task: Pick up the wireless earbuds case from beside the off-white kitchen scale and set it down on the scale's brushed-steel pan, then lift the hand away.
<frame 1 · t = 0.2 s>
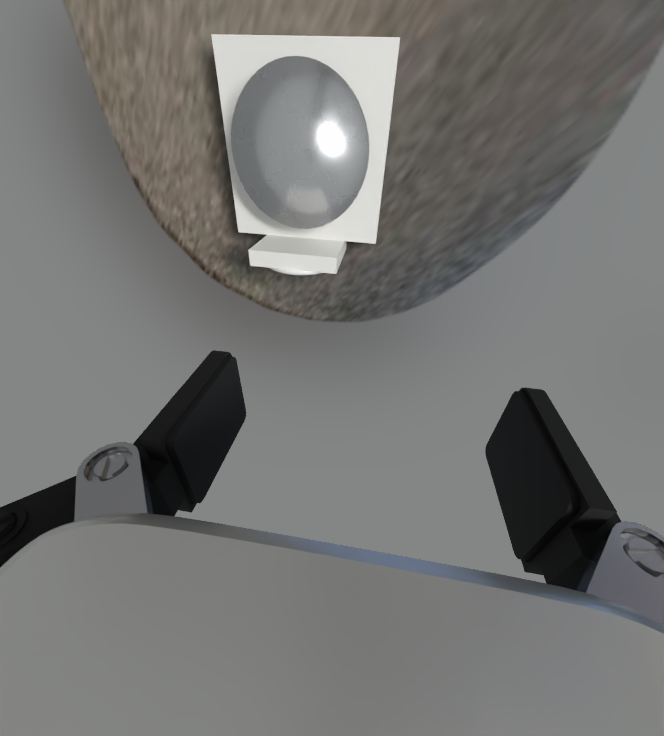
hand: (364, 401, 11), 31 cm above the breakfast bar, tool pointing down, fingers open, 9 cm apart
kitchen scale: (309, 151, 33), on the breakfast bar
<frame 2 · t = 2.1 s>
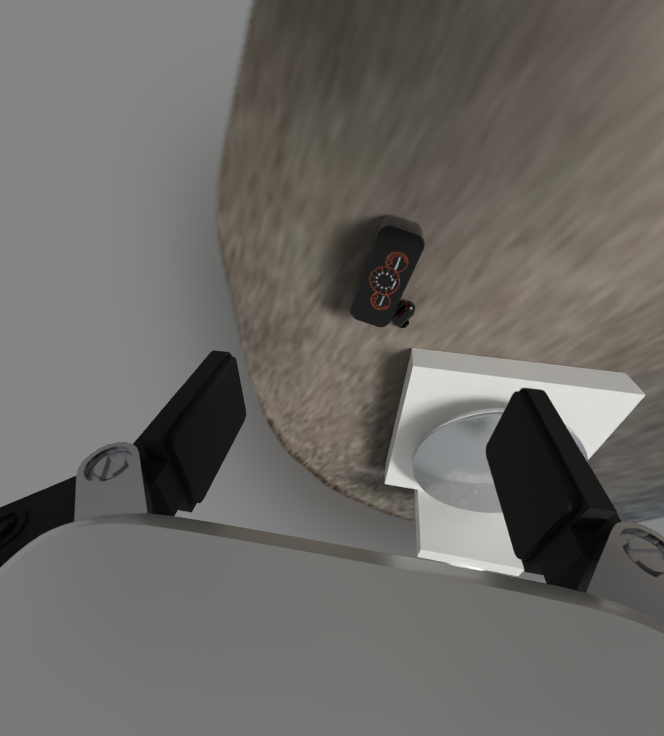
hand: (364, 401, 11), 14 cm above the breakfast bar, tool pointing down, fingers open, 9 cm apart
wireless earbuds: (391, 275, 23), on the breakfast bar
kitchen scale: (481, 427, 29), on the breakfast bar
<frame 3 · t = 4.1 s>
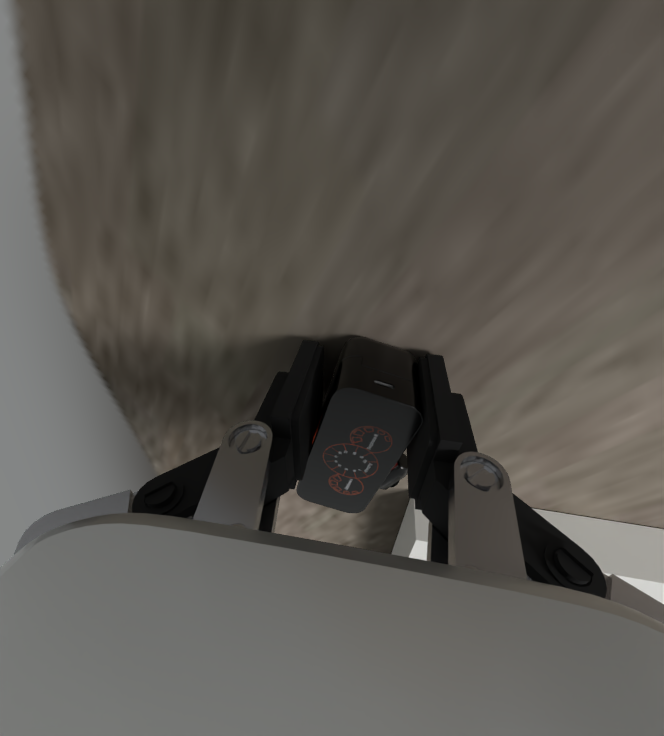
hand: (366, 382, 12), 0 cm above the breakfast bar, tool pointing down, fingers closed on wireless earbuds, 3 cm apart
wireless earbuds: (369, 411, 14), on the breakfast bar, touching gripper
kitchen scale: (516, 579, 20), on the breakfast bar
when the fingers open (6 cm above the breakfast bar, at t = 9.2 s): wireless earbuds stays where it is, resting on kitchen scale.
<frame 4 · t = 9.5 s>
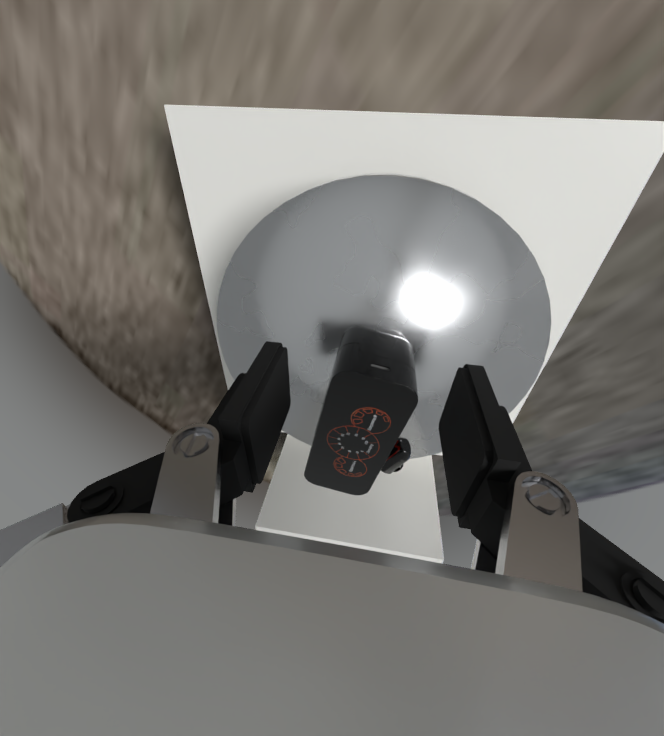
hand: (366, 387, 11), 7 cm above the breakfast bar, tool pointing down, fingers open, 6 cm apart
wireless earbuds: (371, 399, 14), point 5 cm above the breakfast bar, touching kitchen scale
kitchen scale: (374, 308, 17), on the breakfast bar
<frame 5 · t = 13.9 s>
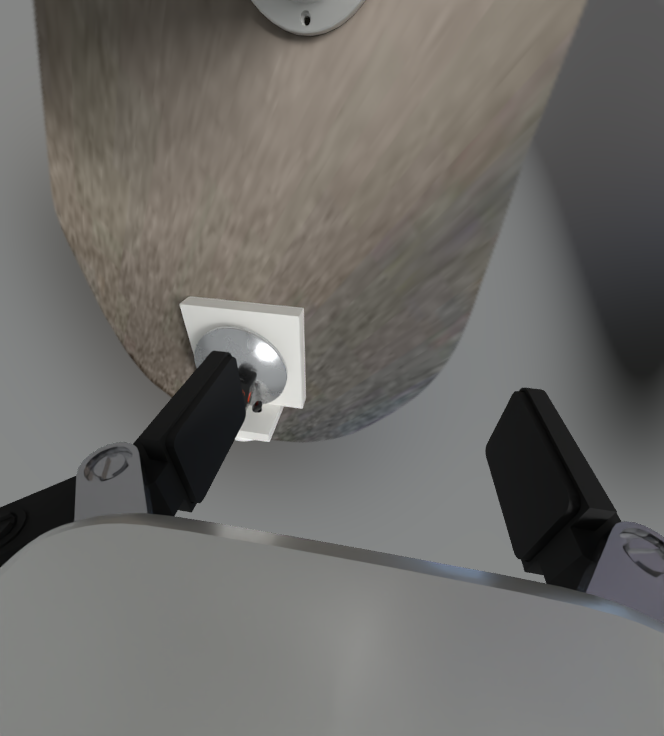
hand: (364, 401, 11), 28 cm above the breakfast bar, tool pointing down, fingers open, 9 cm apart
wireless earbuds: (250, 387, 45), point 5 cm above the breakfast bar, touching kitchen scale
kitchen scale: (252, 351, 46), on the breakfast bar
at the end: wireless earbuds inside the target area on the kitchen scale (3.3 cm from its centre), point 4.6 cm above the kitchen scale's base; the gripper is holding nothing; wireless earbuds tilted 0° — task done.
